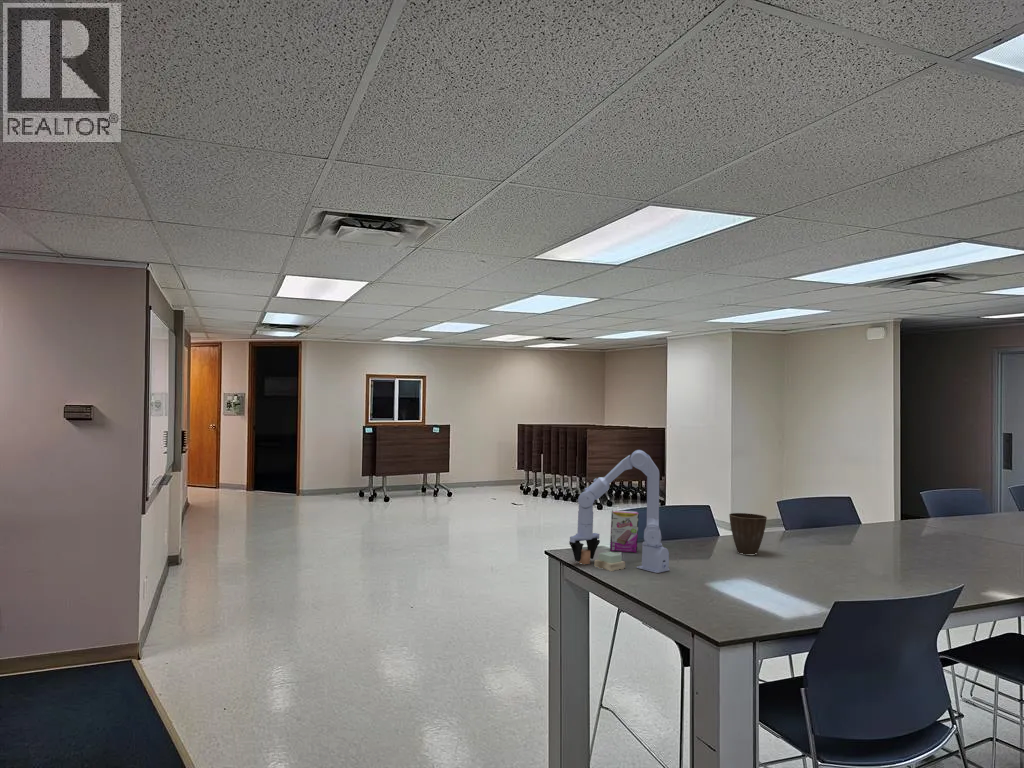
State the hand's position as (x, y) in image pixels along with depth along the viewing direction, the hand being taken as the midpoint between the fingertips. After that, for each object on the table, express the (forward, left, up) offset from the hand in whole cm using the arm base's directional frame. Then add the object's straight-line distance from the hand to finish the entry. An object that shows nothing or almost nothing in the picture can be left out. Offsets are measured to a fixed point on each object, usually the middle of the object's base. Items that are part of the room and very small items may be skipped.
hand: (584, 559), depth 256 cm
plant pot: (-26, -73, -2) cm, 78 cm away
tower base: (-10, -3, -2) cm, 11 cm away
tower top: (-10, -3, +1) cm, 10 cm away
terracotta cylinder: (0, 0, -2) cm, 2 cm away
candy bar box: (+6, -31, -2) cm, 32 cm away
